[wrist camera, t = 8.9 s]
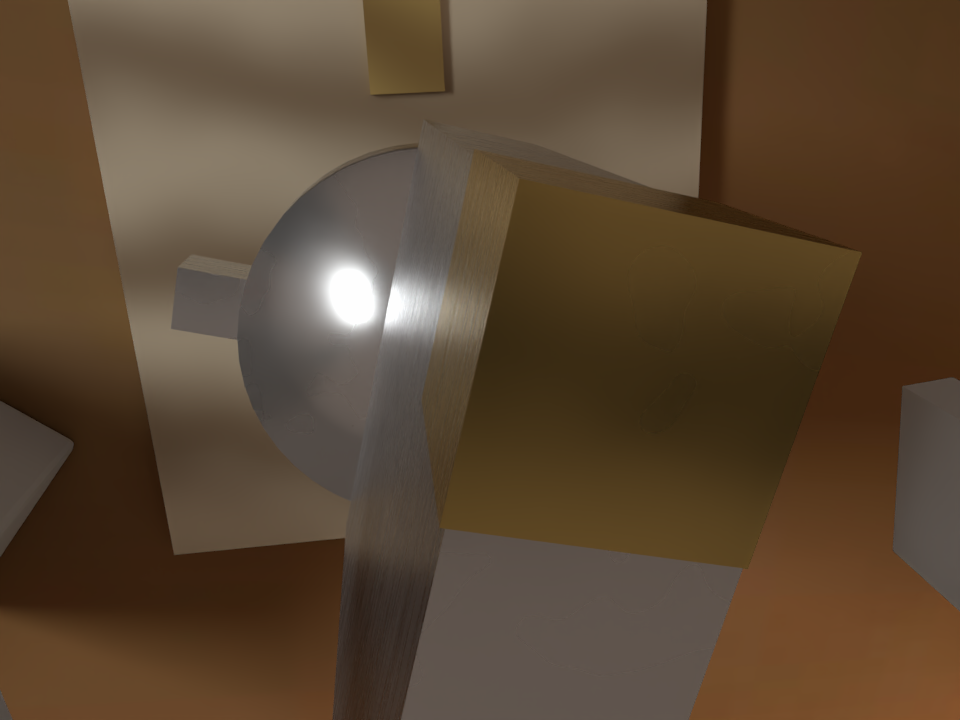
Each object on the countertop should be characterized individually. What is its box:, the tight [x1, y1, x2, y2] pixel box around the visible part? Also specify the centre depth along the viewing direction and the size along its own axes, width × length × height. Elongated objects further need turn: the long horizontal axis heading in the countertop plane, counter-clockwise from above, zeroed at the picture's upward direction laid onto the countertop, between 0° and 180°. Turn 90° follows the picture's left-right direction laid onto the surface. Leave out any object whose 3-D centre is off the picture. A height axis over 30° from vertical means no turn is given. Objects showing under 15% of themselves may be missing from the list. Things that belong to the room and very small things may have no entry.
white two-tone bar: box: [171, 119, 862, 720], centre depth 15 cm, size 13×11×16 cm
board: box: [68, 0, 707, 555], centre depth 29 cm, size 20×20×2 cm
